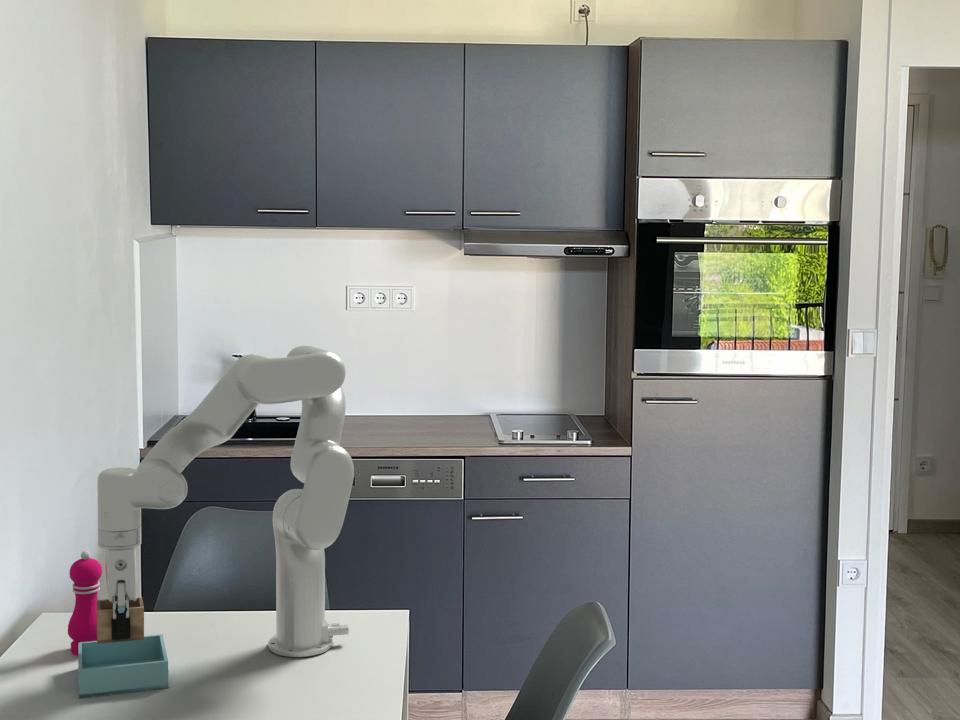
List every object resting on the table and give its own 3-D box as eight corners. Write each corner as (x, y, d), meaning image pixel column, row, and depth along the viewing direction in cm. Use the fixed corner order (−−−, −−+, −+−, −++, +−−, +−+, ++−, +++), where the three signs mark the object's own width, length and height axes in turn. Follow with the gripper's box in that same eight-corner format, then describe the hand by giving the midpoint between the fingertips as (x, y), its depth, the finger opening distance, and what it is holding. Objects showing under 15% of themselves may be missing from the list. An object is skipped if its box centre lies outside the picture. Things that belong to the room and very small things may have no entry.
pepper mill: (94, 658, 214) (92, 557, 212) (60, 655, 215) (57, 554, 213) (114, 645, 221) (112, 547, 219) (81, 642, 222) (78, 544, 220)
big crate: (163, 659, 214) (162, 634, 214) (168, 687, 201) (168, 661, 200) (79, 668, 209) (78, 642, 209) (79, 698, 196) (78, 671, 195)
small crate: (142, 627, 208) (142, 596, 208) (144, 639, 202) (143, 607, 202) (97, 631, 206) (96, 600, 205) (97, 643, 200) (97, 611, 199)
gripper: (143, 548, 195) (144, 646, 197) (138, 523, 211) (139, 614, 213) (98, 550, 193) (99, 650, 195) (97, 525, 209) (97, 618, 211)
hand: (120, 631), depth 204 cm, fingers closed on small crate, 6 cm apart
